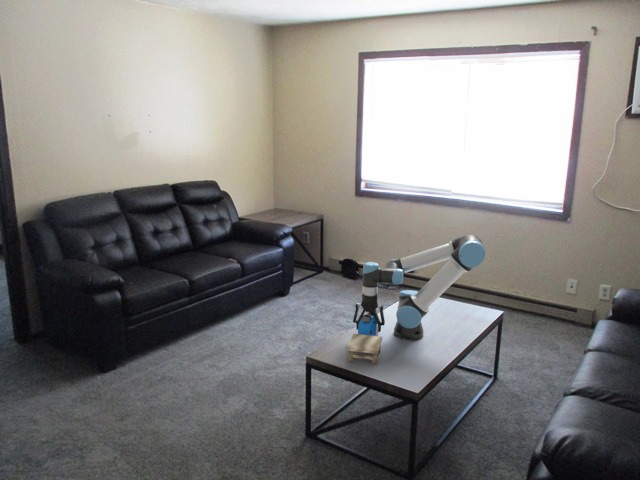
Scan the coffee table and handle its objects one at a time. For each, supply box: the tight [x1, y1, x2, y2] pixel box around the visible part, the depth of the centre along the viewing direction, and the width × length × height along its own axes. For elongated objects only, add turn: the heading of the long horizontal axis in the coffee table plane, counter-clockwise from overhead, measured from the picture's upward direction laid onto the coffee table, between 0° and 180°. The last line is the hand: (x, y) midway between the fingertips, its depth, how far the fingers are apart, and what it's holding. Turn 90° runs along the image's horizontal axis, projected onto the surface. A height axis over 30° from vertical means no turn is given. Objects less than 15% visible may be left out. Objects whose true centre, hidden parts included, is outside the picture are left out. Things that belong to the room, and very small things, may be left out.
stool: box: [346, 333, 383, 366], centre depth 251 cm, size 14×16×8 cm
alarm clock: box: [357, 312, 377, 336], centre depth 267 cm, size 13×6×15 cm, turn 151°
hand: (368, 336), depth 268 cm, fingers open, 8 cm apart
